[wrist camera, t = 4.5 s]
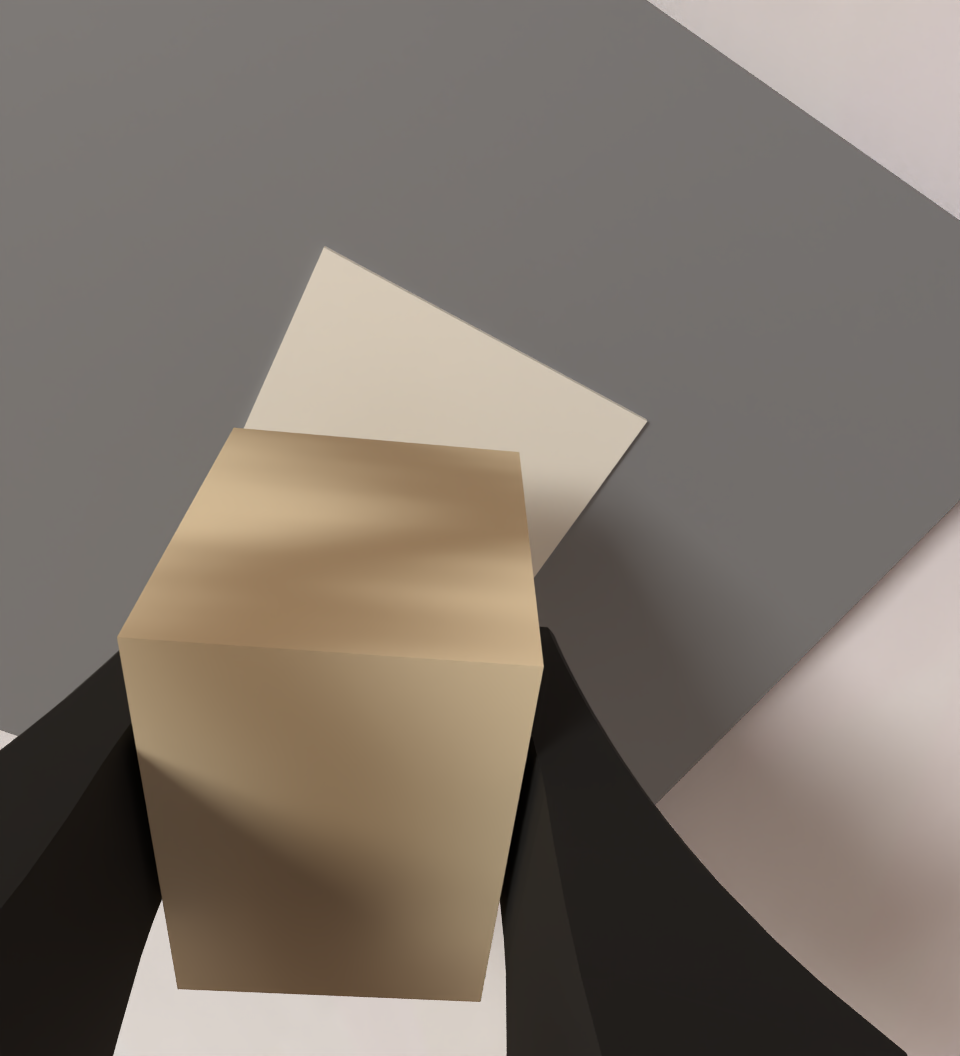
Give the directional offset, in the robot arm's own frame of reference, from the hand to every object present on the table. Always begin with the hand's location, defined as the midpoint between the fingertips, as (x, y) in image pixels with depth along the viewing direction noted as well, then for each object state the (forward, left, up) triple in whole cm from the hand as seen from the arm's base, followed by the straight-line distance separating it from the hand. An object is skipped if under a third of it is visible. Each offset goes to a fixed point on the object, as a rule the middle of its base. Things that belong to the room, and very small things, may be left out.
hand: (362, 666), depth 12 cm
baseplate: (0, 0, -5) cm, 5 cm away
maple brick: (0, 0, -1) cm, 1 cm away
